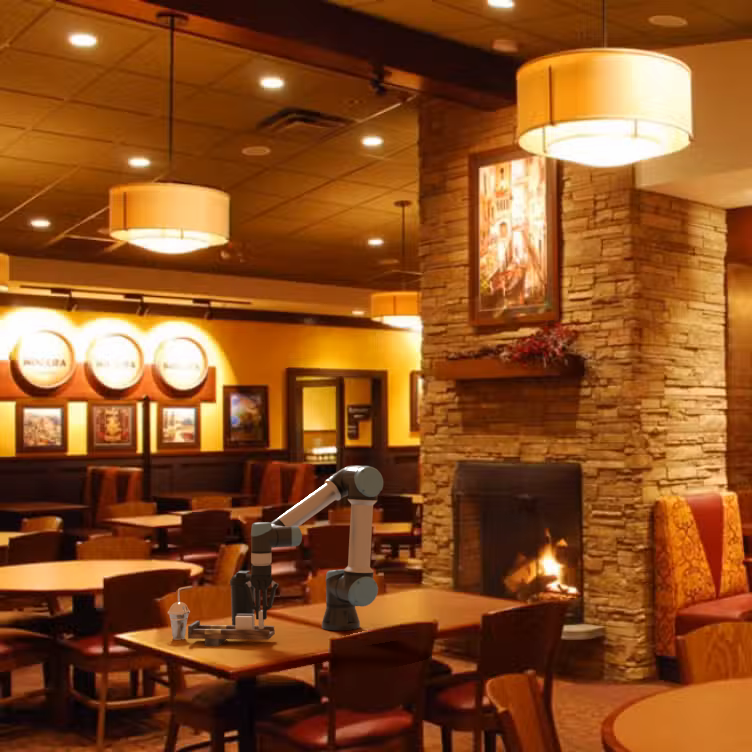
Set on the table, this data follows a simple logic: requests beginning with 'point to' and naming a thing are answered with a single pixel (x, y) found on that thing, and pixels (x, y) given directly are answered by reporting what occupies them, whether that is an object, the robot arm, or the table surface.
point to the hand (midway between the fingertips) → (261, 628)
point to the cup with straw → (179, 617)
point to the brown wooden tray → (226, 633)
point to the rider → (245, 622)
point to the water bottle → (240, 594)
